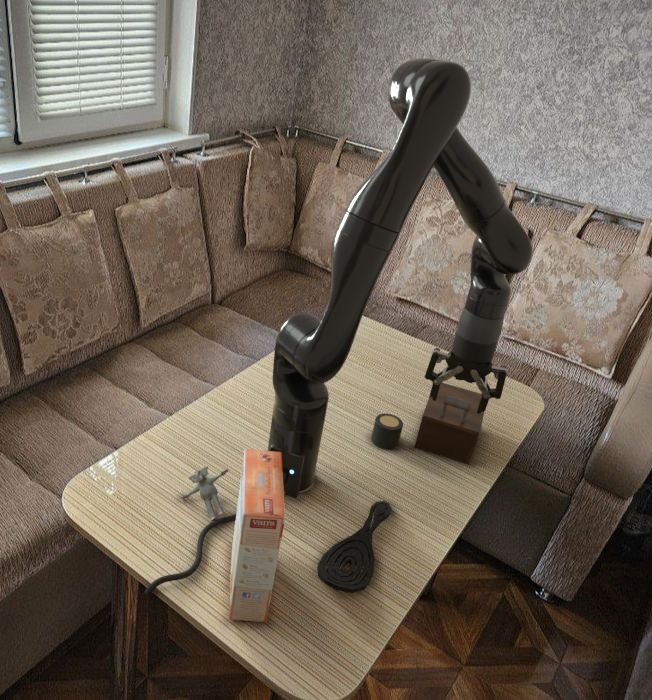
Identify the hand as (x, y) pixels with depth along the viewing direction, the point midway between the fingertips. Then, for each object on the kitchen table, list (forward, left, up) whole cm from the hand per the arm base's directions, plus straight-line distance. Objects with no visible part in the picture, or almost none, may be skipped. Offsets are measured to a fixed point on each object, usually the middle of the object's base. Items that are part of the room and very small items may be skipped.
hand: (456, 405), depth 131 cm
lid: (+5, 0, -4) cm, 7 cm away
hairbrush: (-34, +9, -12) cm, 37 cm away
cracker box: (-49, +22, -12) cm, 55 cm away
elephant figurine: (-36, +35, -12) cm, 52 cm away
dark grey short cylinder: (-2, +12, -12) cm, 17 cm away
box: (+6, 0, -12) cm, 13 cm away
